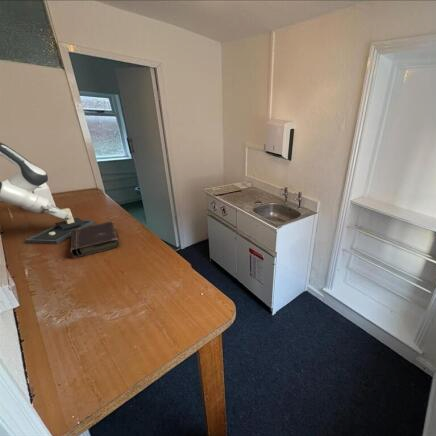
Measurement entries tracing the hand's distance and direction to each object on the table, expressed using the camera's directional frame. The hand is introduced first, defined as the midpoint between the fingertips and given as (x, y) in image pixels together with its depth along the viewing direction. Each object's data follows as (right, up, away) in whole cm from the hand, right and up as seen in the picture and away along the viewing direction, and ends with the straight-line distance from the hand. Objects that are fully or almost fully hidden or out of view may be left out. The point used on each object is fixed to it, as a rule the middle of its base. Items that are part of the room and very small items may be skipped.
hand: (69, 216), depth 130 cm
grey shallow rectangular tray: (0, -9, -3) cm, 9 cm away
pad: (0, -11, -9) cm, 14 cm away
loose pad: (0, -5, +1) cm, 5 cm away
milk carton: (-36, +4, +23) cm, 43 cm away
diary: (+25, -14, -11) cm, 30 cm away
